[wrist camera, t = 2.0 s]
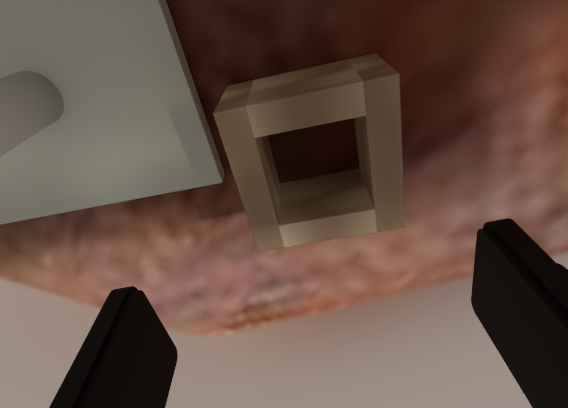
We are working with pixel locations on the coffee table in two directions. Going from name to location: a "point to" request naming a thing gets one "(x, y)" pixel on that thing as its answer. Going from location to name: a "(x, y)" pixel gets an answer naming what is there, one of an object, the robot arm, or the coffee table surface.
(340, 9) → the coffee table surface
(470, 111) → the coffee table surface
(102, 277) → the coffee table surface
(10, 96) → the post block
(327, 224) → the ring
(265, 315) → the coffee table surface
